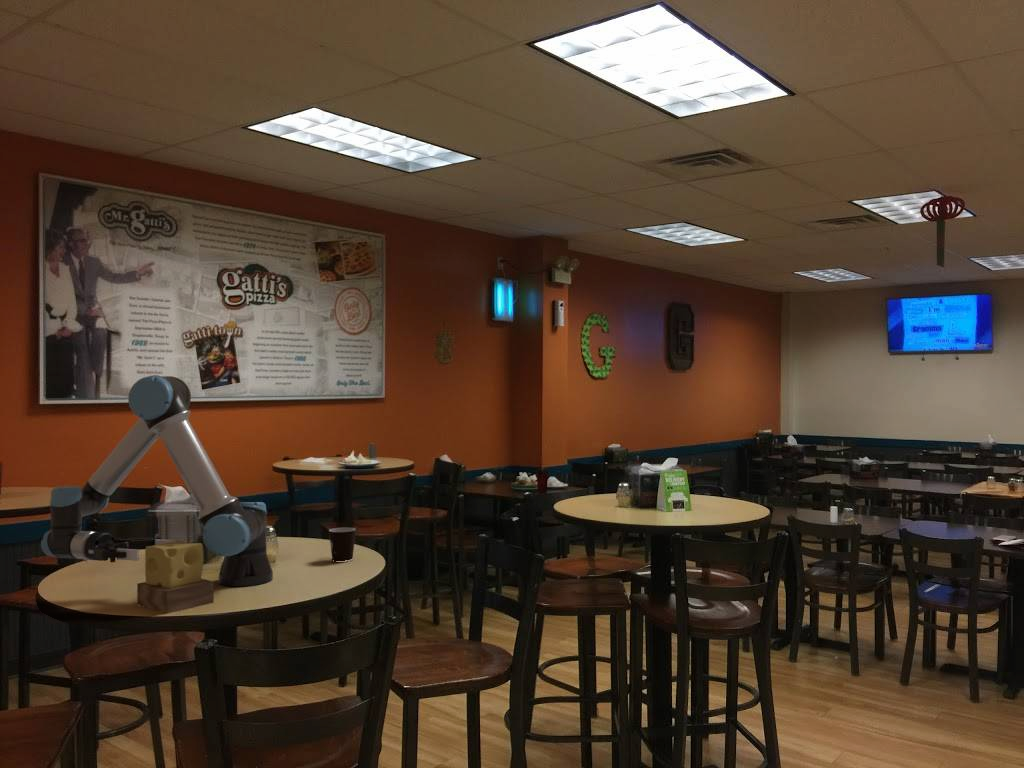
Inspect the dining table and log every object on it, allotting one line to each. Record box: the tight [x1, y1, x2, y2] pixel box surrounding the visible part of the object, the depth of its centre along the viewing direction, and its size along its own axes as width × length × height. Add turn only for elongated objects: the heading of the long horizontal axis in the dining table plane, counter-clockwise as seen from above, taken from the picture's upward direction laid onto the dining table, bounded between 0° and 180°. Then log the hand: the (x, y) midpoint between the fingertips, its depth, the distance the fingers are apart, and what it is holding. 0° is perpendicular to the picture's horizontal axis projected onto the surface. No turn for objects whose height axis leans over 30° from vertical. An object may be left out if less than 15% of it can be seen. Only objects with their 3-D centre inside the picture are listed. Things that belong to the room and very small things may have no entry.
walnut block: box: [136, 578, 214, 614], centre depth 218 cm, size 14×13×6 cm
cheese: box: [144, 540, 204, 588], centre depth 218 cm, size 10×11×10 cm
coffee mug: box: [328, 527, 357, 561], centre depth 274 cm, size 12×9×10 cm
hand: (157, 550), depth 220 cm, fingers open, 13 cm apart
